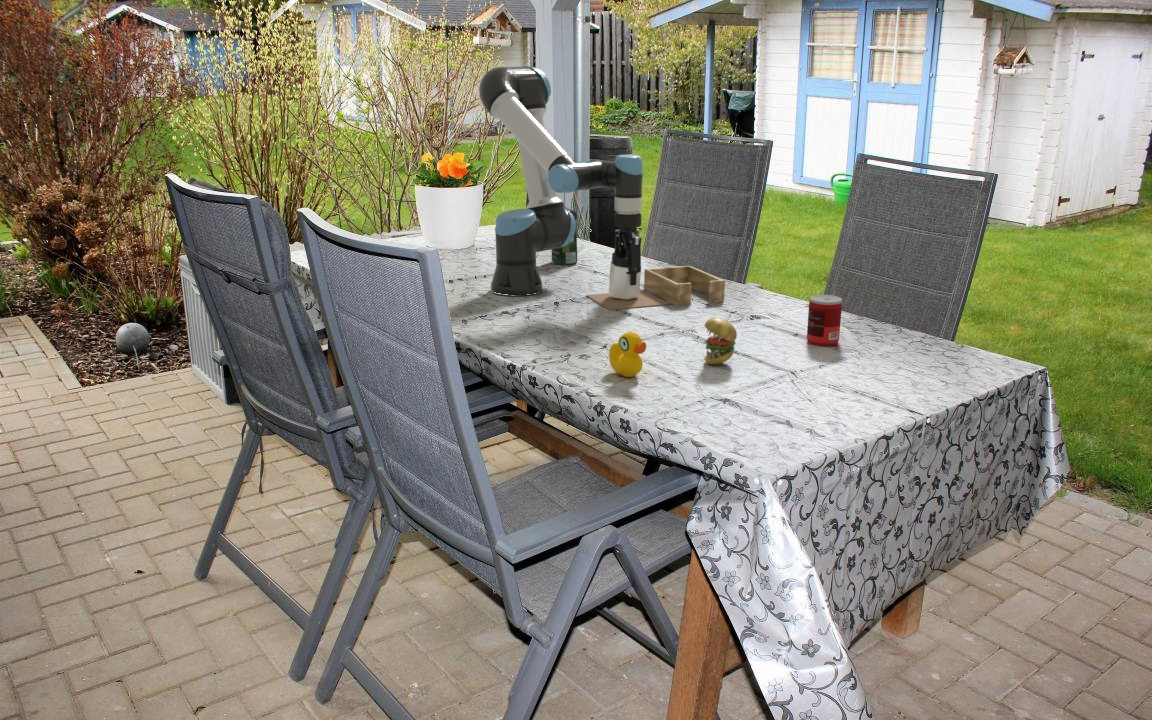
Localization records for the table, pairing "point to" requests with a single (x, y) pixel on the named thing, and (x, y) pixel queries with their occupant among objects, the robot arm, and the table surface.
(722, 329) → the hamburger
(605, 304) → the mat
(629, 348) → the duckling
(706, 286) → the crate
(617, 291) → the jar
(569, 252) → the coffee jar
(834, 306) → the canned food
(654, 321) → the table surface
